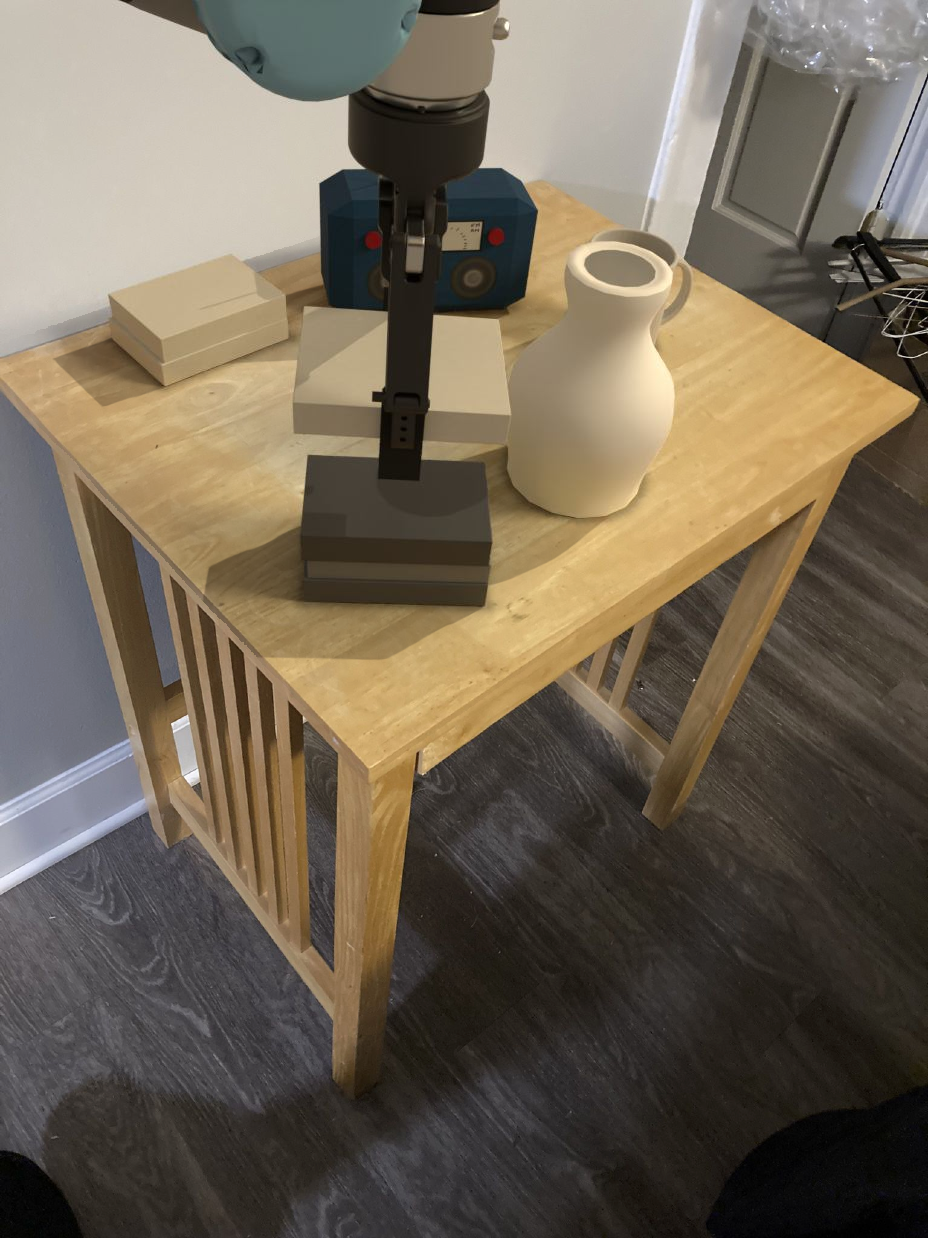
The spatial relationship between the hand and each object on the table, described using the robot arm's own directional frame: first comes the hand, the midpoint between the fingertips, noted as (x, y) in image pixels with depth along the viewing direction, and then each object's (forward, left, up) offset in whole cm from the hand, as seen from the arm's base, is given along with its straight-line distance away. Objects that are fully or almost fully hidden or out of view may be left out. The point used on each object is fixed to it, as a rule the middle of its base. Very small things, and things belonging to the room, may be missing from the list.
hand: (398, 421), depth 67 cm
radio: (+3, +40, -14) cm, 42 cm away
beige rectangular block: (-19, +30, -14) cm, 38 cm away
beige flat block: (0, 0, +3) cm, 3 cm away
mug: (+24, +34, -14) cm, 44 cm away
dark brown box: (0, 0, -14) cm, 14 cm away
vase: (+16, +12, -14) cm, 25 cm away
